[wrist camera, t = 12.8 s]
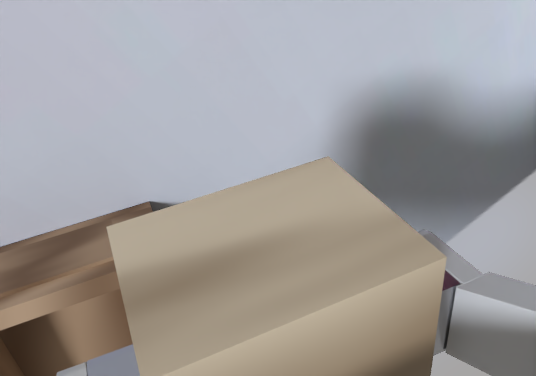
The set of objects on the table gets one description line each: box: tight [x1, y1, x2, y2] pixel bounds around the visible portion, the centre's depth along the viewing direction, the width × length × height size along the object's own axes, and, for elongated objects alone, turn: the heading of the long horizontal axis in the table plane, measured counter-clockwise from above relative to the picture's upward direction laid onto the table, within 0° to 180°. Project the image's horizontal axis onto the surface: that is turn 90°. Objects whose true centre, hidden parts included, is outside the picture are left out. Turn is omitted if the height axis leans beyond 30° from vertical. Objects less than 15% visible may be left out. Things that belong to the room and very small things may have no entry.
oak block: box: [106, 157, 447, 376], centre depth 9 cm, size 4×4×4 cm
